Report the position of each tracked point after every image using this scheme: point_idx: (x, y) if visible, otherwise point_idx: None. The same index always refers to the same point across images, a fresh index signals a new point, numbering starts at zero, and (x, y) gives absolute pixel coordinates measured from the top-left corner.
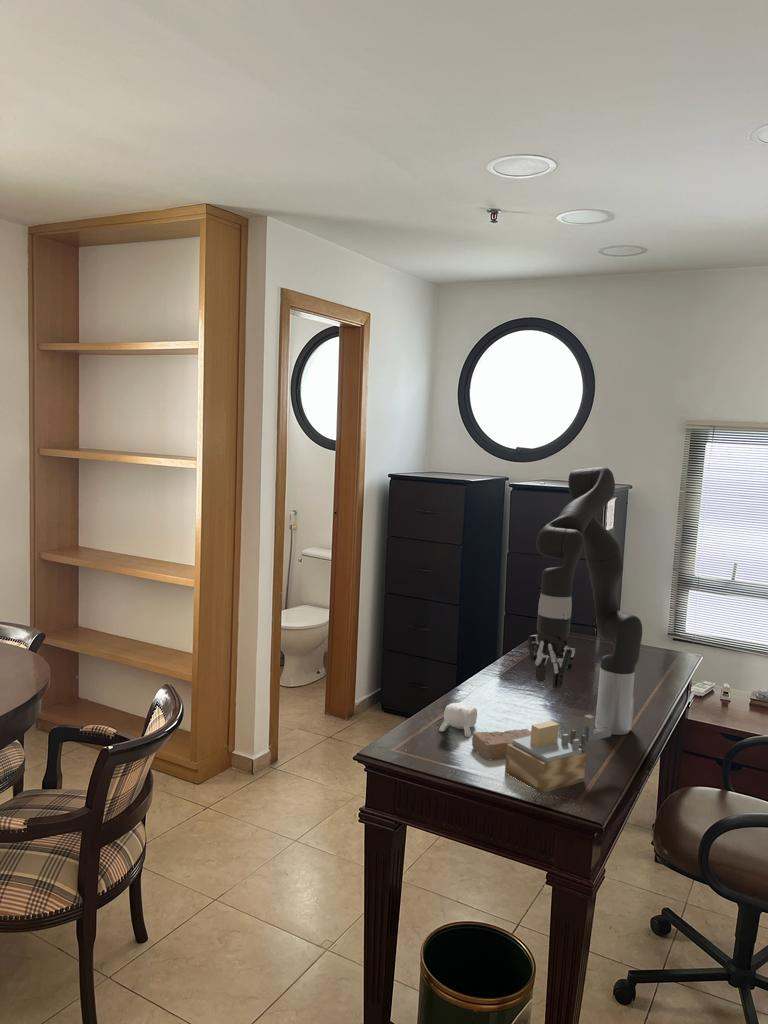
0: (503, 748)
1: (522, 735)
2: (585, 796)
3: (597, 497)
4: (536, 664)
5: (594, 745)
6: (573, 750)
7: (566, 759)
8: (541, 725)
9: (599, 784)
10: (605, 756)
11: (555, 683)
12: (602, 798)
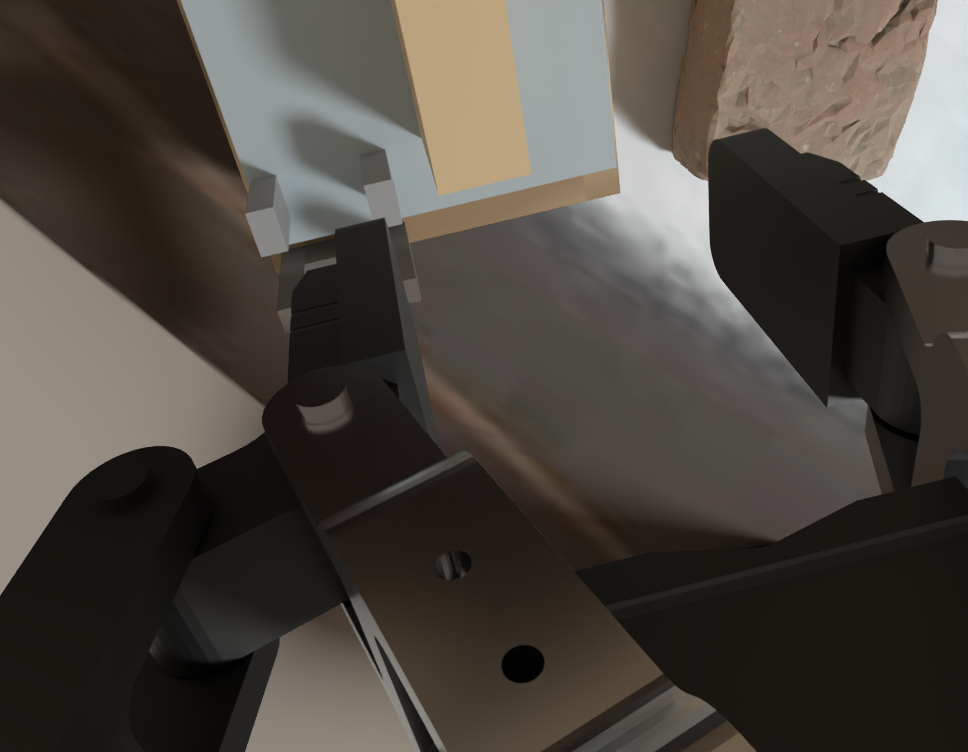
0: None
1: (813, 86)
2: (87, 88)
3: None
4: (943, 229)
5: (648, 460)
6: (257, 177)
7: (205, 75)
8: (454, 8)
9: (236, 256)
10: (528, 447)
11: (342, 270)
12: (56, 174)
